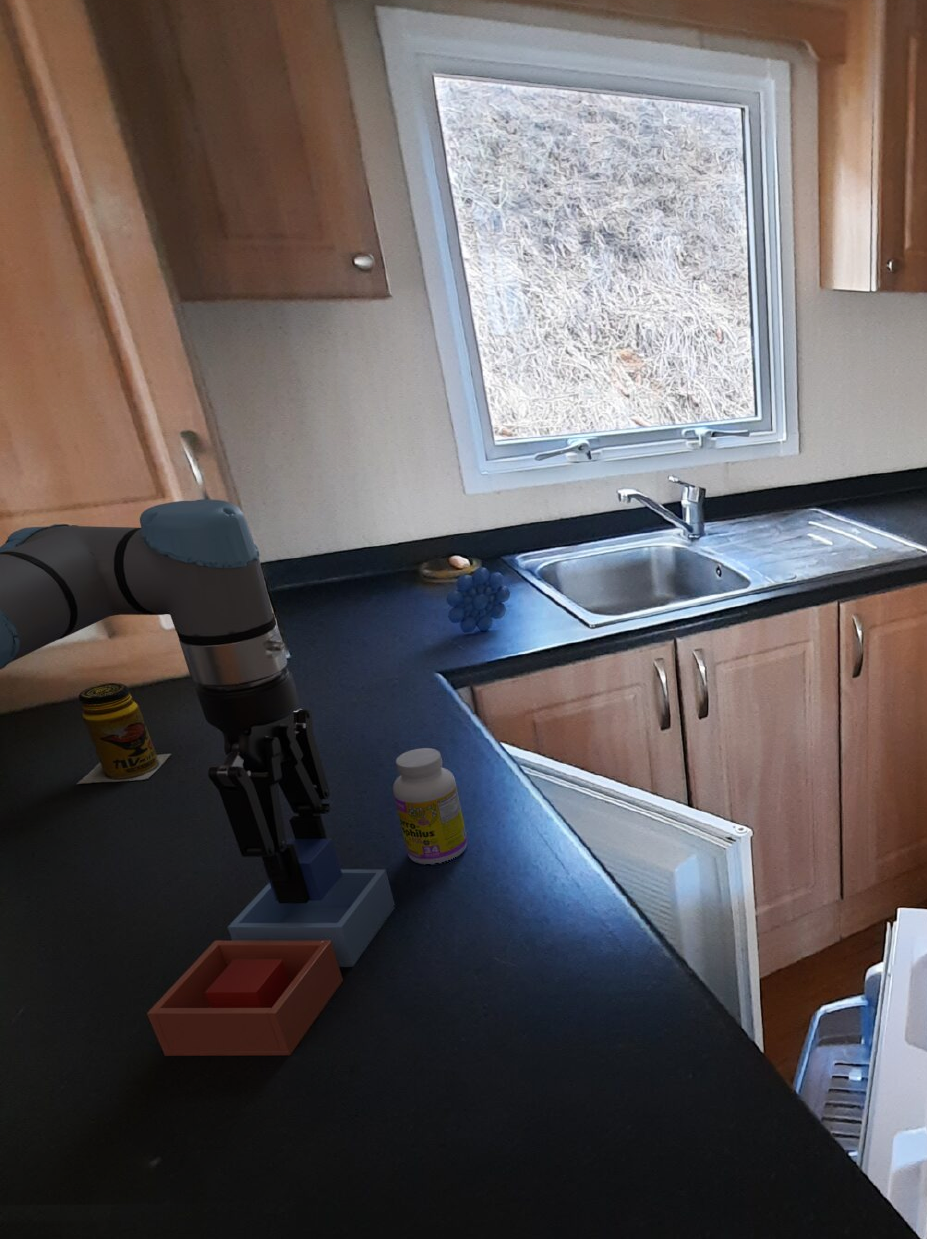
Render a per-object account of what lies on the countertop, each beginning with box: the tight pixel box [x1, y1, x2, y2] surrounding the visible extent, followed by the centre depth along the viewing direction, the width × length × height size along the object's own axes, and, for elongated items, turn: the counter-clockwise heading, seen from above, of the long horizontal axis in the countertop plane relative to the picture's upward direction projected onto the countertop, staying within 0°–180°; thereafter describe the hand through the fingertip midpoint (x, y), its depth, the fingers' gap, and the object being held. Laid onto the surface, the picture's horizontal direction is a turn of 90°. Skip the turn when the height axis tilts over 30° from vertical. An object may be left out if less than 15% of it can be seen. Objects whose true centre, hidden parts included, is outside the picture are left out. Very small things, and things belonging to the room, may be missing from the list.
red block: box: [205, 959, 290, 1008], centre depth 90 cm, size 4×4×4 cm
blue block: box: [263, 838, 342, 901], centre depth 98 cm, size 4×4×4 cm
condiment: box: [76, 682, 172, 785], centre depth 130 cm, size 7×8×12 cm
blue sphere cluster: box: [446, 567, 511, 633], centre depth 180 cm, size 12×7×12 cm, turn 128°
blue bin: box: [227, 868, 396, 968], centre depth 100 cm, size 11×10×5 cm
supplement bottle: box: [392, 747, 468, 866], centre depth 113 cm, size 7×7×13 cm
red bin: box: [146, 939, 344, 1057], centre depth 90 cm, size 11×10×5 cm
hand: (307, 885), depth 99 cm, fingers closed on blue block, 4 cm apart
